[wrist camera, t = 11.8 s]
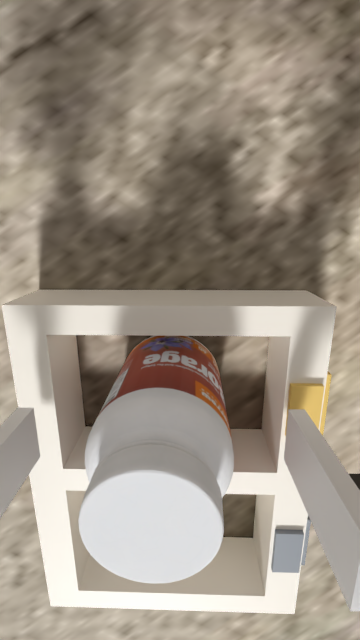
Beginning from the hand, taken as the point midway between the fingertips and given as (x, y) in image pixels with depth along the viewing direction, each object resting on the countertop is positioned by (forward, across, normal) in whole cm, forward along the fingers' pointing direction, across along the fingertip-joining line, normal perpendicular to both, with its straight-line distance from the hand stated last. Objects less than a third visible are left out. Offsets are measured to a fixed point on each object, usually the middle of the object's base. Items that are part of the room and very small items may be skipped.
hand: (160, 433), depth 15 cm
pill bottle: (+6, 0, 0) cm, 6 cm away
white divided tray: (+6, 0, -4) cm, 7 cm away
